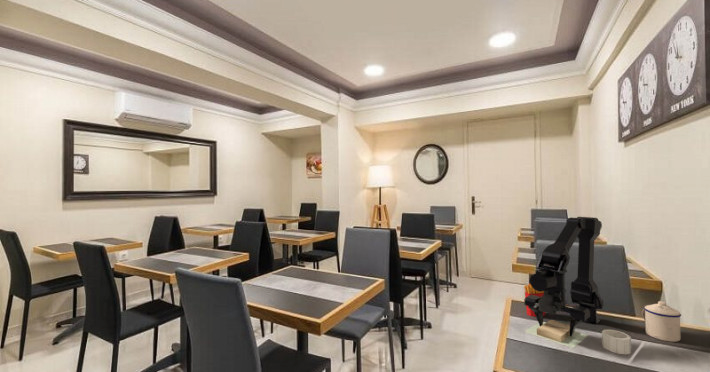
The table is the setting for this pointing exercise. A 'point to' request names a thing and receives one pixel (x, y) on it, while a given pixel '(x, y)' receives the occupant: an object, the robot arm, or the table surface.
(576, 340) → the mat
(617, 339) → the bowl
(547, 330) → the beige flat block
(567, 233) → the robot arm
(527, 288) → the french fries
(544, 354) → the table surface
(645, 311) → the teacup with lid
